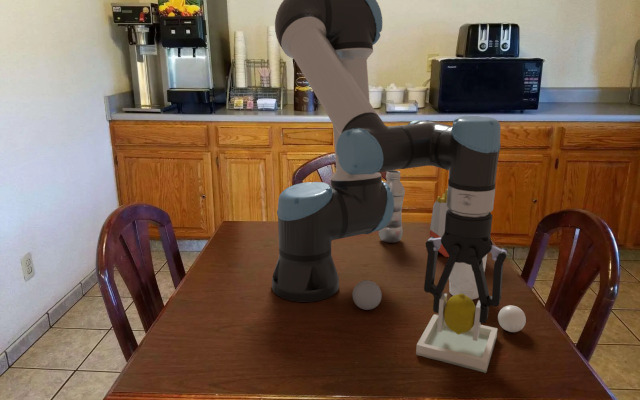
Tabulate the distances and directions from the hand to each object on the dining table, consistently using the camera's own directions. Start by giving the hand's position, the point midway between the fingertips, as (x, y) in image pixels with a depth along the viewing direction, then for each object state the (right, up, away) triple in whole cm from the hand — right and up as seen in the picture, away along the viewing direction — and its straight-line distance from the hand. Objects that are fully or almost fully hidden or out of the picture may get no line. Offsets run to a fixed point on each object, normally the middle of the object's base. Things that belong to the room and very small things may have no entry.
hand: (458, 332), depth 92 cm
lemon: (0, 0, 0) cm, 1 cm away
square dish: (0, -3, +1) cm, 3 cm away
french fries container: (+10, +10, +43) cm, 45 cm away
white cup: (+7, +3, +21) cm, 22 cm away
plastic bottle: (-5, +12, +51) cm, 53 cm away
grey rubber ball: (-15, +1, +14) cm, 21 cm away
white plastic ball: (+12, -1, +6) cm, 13 cm away
